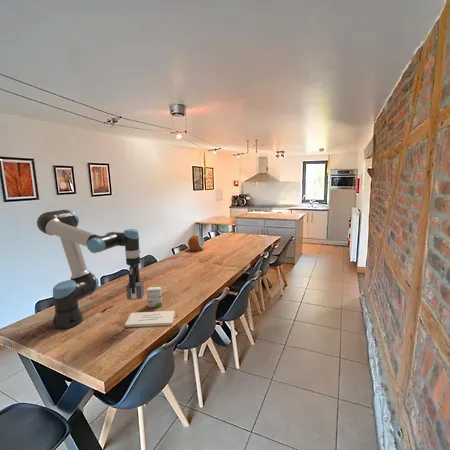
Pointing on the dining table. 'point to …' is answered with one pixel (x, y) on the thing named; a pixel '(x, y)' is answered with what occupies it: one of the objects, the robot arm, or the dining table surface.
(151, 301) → the ink box
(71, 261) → the robot arm
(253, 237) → the dining table surface
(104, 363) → the dining table surface
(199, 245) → the alarm clock
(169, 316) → the board
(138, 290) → the block
